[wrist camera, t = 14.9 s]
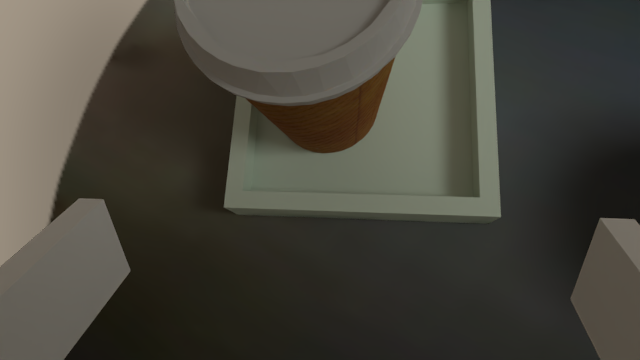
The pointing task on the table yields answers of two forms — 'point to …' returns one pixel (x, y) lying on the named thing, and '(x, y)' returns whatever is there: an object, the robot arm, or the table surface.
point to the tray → (391, 138)
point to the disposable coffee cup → (301, 59)
